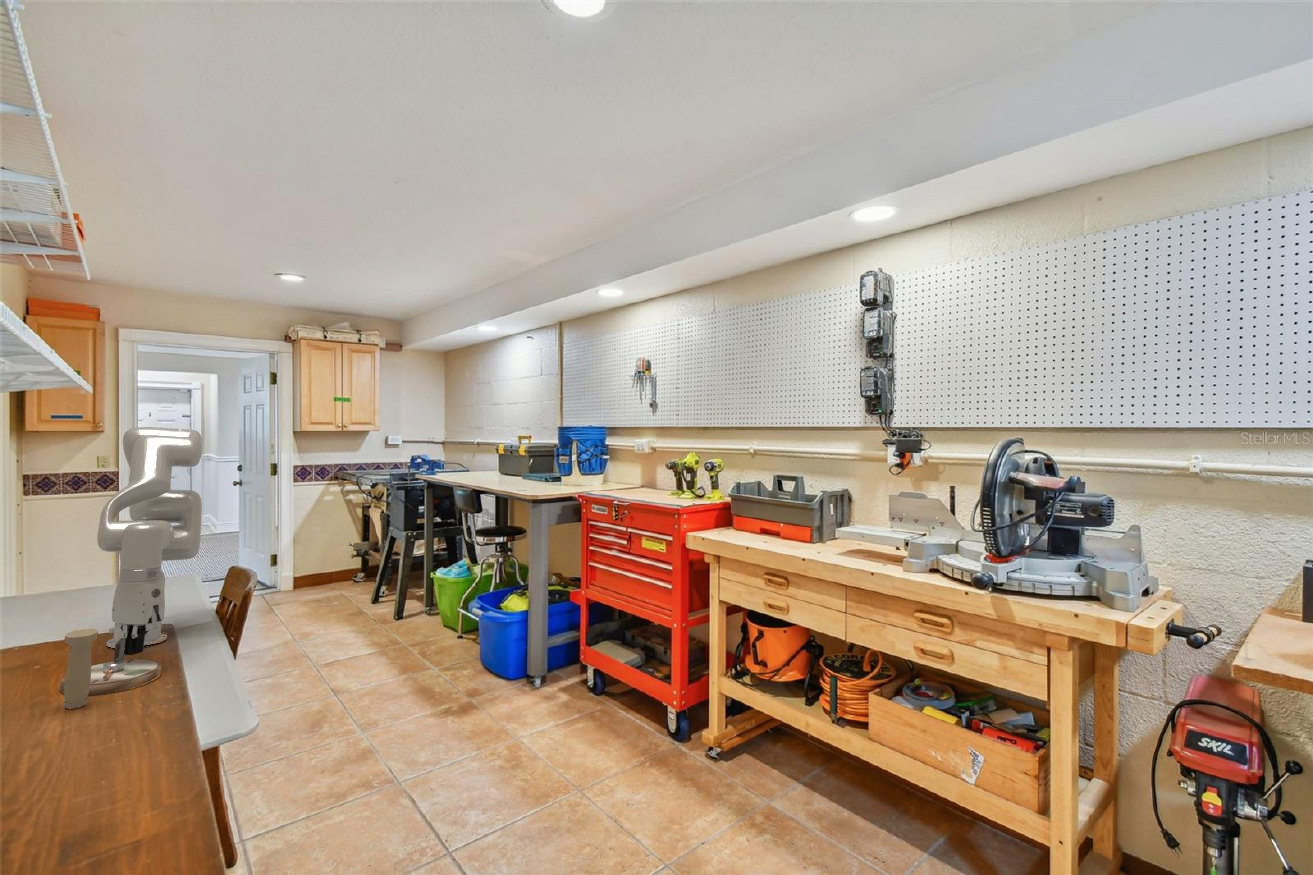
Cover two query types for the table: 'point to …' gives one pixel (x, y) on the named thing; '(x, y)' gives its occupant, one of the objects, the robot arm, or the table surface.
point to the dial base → (120, 677)
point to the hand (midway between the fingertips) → (133, 653)
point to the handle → (78, 667)
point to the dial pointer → (115, 660)
